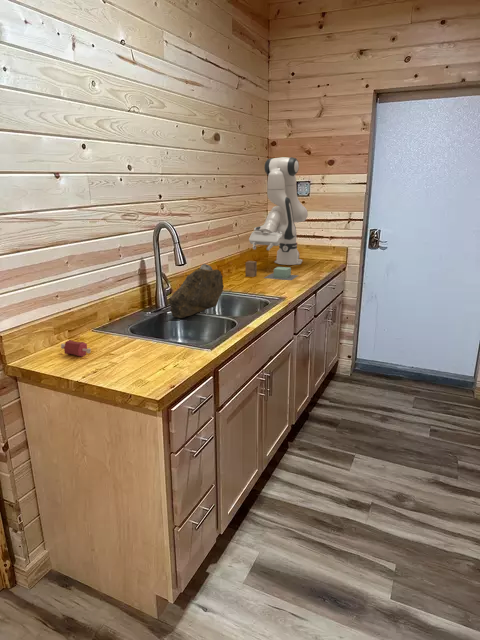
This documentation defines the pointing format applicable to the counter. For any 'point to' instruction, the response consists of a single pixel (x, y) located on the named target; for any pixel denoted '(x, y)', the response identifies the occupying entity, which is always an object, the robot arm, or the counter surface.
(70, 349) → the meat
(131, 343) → the counter surface
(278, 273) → the sage brick
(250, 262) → the walnut block
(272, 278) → the mat
